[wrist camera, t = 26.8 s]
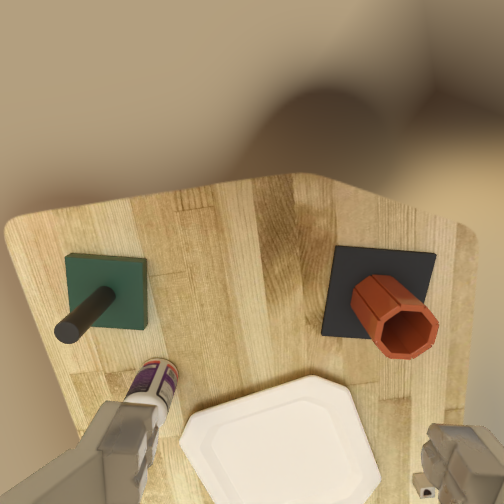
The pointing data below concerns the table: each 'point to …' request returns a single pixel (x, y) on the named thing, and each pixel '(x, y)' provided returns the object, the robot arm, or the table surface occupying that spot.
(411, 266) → the mat
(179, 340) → the table surface
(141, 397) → the pill bottle
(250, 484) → the plate
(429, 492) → the cube with dark pebbles
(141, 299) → the post stand
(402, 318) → the orange hollow octagonal tube
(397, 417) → the table surface
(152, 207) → the table surface
